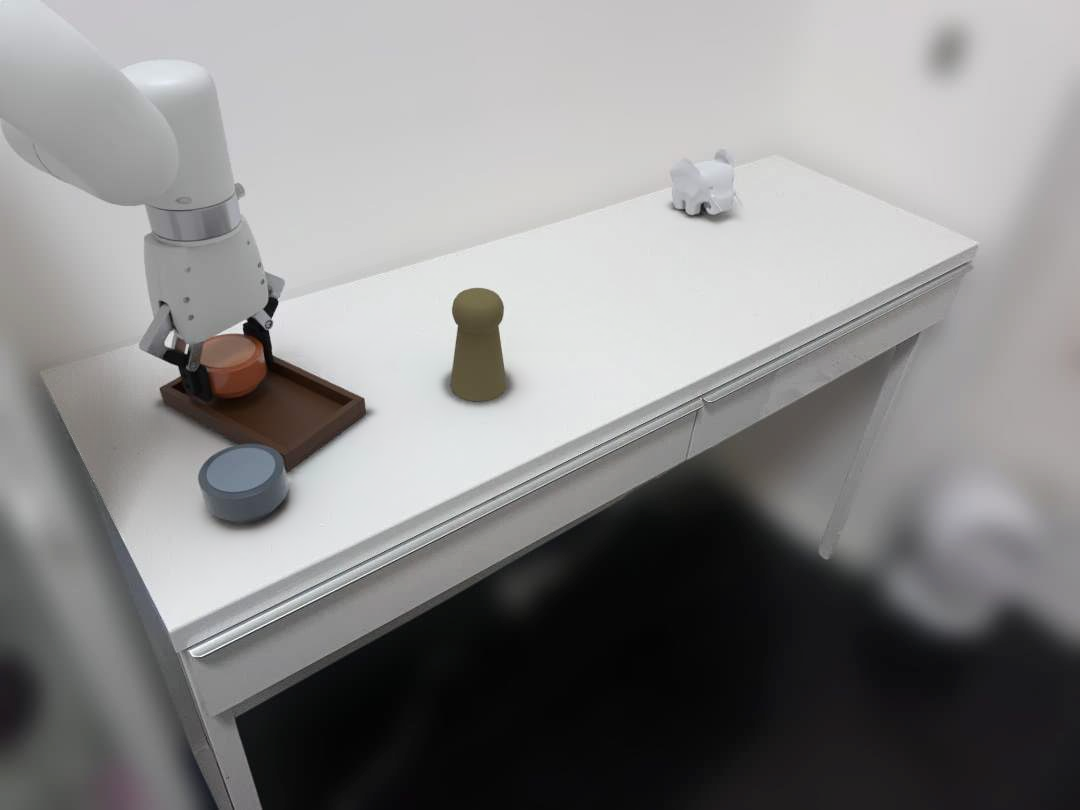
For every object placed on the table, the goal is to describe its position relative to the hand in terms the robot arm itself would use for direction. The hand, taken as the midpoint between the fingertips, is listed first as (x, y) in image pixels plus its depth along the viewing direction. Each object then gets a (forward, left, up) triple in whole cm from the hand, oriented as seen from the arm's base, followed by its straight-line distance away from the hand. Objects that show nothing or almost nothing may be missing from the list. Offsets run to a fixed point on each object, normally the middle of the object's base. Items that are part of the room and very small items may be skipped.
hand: (231, 376), depth 82 cm
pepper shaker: (+16, -19, -3) cm, 25 cm away
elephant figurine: (+73, -20, -3) cm, 76 cm away
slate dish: (-10, -13, -2) cm, 16 cm away
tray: (0, -4, -2) cm, 5 cm away
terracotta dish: (0, 0, -1) cm, 1 cm away
